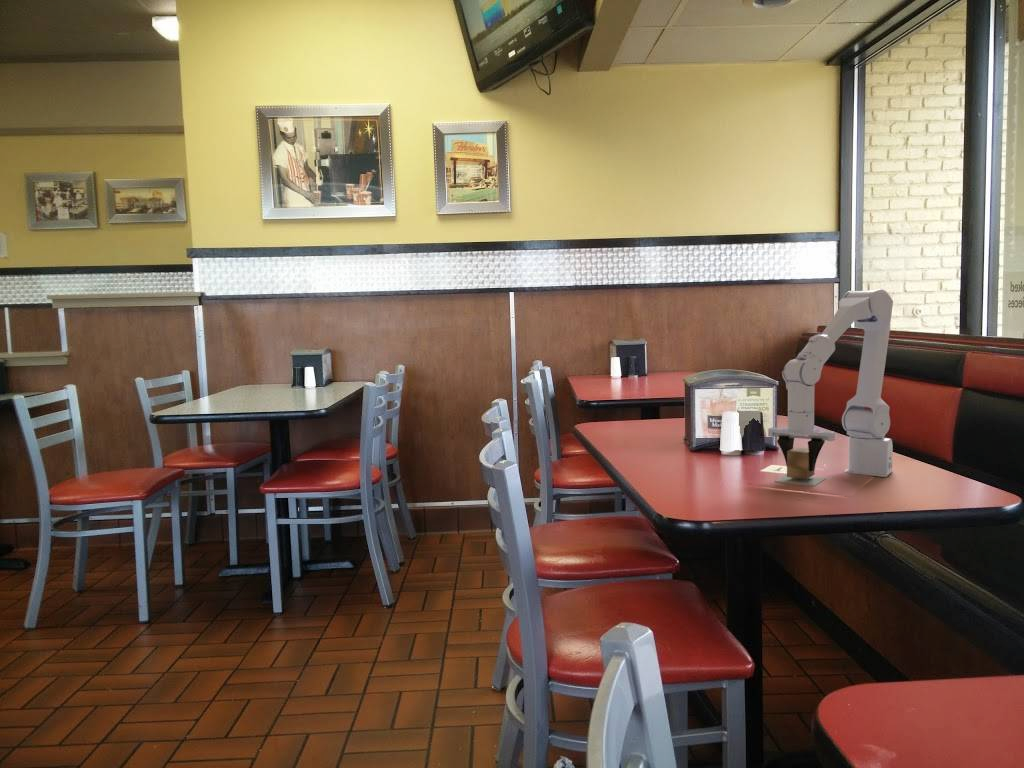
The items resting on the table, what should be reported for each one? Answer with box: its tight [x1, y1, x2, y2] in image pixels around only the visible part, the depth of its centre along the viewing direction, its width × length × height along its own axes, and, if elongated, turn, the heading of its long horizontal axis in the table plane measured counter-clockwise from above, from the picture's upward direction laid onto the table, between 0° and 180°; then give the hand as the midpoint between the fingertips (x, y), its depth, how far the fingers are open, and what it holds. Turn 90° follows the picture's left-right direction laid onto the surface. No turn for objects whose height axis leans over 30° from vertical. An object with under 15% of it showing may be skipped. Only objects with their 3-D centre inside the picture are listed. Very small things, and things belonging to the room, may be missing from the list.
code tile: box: [760, 464, 787, 475], centre depth 191 cm, size 9×9×1 cm
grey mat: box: [774, 474, 827, 487], centre depth 179 cm, size 9×9×1 cm
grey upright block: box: [735, 408, 761, 437], centre depth 218 cm, size 6×4×12 cm
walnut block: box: [786, 447, 815, 479], centre depth 179 cm, size 4×6×6 cm
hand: (800, 469), depth 179 cm, fingers closed on walnut block, 4 cm apart
